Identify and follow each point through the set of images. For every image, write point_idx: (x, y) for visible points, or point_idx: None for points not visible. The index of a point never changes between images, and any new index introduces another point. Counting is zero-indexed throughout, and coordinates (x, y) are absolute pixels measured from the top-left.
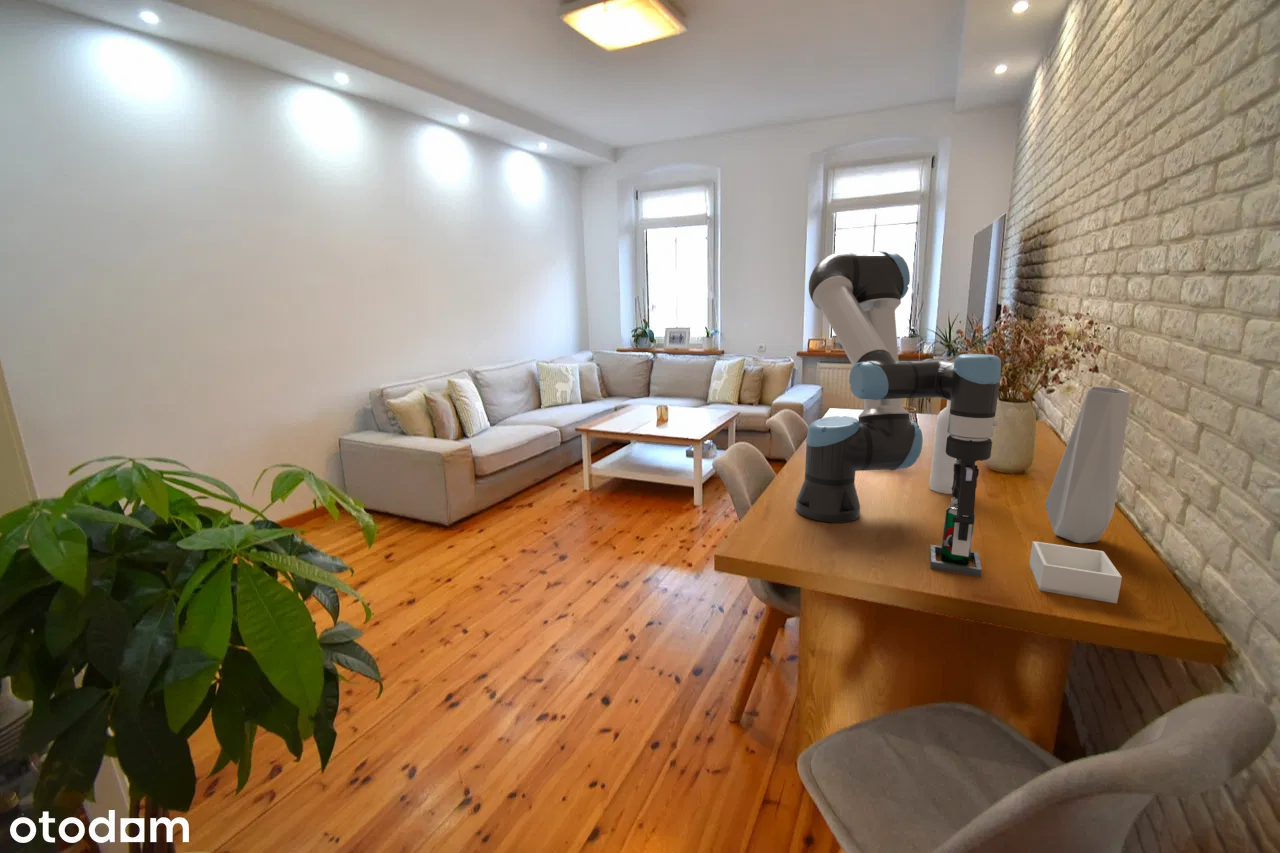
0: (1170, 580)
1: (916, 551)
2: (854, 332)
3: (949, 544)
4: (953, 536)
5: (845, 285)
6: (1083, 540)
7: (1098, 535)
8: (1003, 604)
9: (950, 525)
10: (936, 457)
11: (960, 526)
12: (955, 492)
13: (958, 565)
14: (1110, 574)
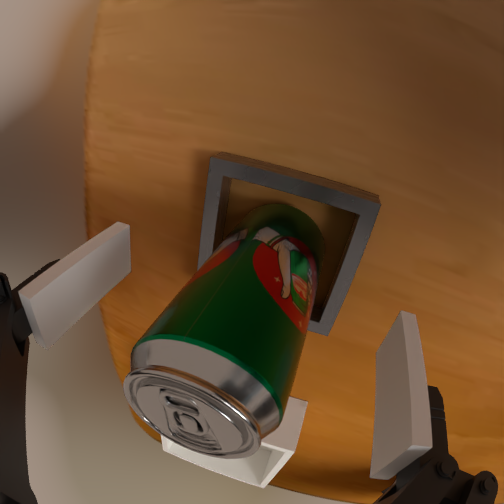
0: (278, 484)
1: (371, 141)
2: None
3: (218, 247)
4: (80, 255)
5: None
6: (393, 483)
7: None
8: None
9: (177, 295)
10: None
11: (15, 291)
12: (394, 496)
13: (205, 239)
14: (166, 447)
